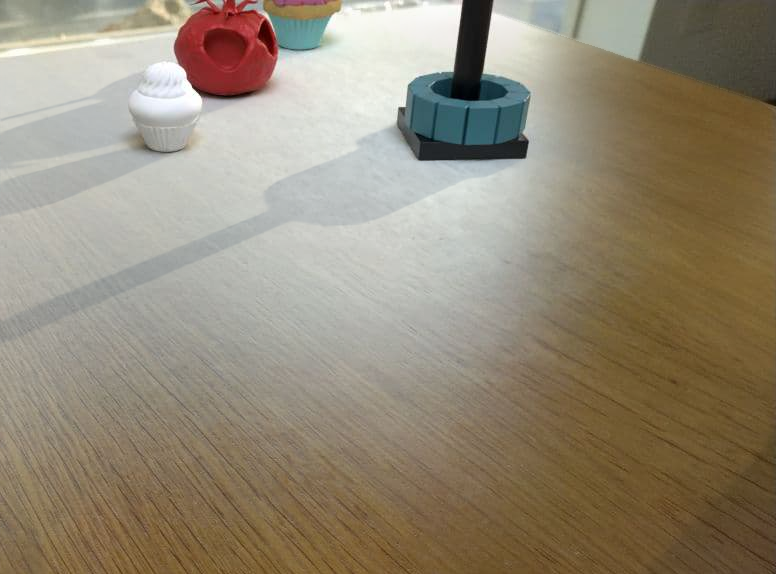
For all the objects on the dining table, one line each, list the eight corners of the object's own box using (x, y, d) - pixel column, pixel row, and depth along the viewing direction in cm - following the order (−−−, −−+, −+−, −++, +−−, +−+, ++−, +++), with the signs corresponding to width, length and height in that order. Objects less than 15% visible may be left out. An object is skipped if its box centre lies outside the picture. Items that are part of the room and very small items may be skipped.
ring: (504, 105, 87) (509, 70, 85) (538, 143, 79) (545, 107, 77) (395, 106, 87) (398, 72, 85) (418, 145, 79) (423, 108, 77)
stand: (495, 121, 88) (521, -41, 80) (526, 158, 81) (557, -17, 73) (396, 123, 87) (412, -40, 80) (418, 160, 80) (438, -16, 72)
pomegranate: (157, 81, 97) (153, -19, 92) (242, 66, 102) (242, -30, 96) (210, 109, 90) (208, 3, 85) (298, 91, 95) (302, -11, 90)
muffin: (218, 144, 83) (217, 60, 79) (166, 164, 79) (163, 76, 75) (167, 127, 86) (163, 45, 82) (115, 146, 82) (109, 61, 78)
